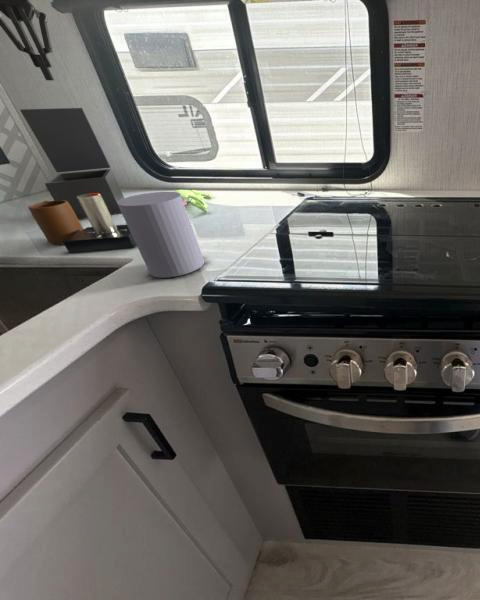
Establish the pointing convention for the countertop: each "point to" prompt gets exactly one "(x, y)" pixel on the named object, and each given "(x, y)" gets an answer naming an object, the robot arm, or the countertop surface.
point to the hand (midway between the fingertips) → (50, 80)
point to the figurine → (196, 196)
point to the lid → (66, 138)
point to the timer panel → (100, 240)
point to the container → (162, 233)
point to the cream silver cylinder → (97, 213)
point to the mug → (56, 220)
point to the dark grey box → (86, 189)
